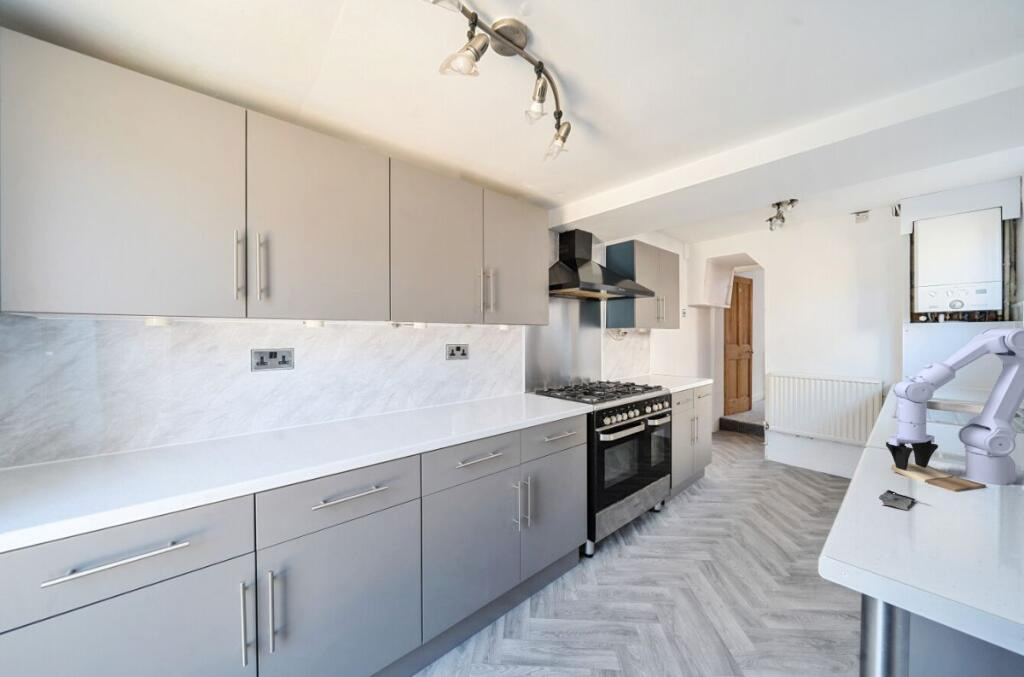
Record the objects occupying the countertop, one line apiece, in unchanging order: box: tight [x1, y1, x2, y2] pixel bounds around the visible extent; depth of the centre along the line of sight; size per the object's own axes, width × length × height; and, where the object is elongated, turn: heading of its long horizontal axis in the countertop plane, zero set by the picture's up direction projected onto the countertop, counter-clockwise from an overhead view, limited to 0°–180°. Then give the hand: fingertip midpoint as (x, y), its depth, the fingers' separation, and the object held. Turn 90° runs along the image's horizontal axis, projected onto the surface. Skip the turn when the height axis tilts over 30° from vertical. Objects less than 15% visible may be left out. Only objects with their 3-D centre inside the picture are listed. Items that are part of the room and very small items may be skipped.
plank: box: [890, 461, 954, 483], centre depth 108 cm, size 11×8×2 cm
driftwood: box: [878, 489, 916, 511], centre depth 97 cm, size 21×7×2 cm, turn 119°
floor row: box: [927, 476, 987, 493], centre depth 106 cm, size 11×16×2 cm
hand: (911, 467), depth 109 cm, fingers open, 7 cm apart
